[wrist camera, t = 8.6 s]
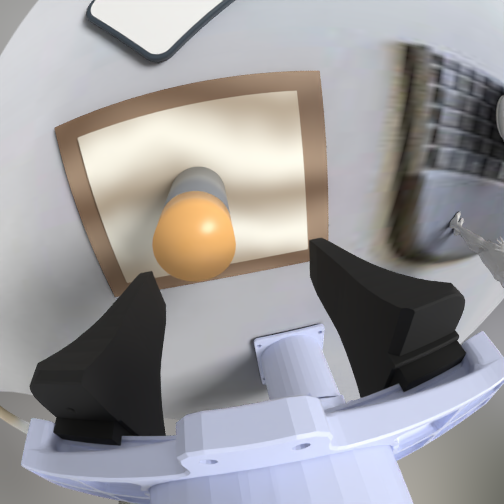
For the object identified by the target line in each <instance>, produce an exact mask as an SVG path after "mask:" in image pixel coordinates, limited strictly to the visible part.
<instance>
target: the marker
mask: <svg viewBox="0 0 504 504" xmlns="http://www.w3.org/2000/svg"><path fill="white" fill-rule="evenodd" d="M152 247H153V253H154V256H155V258H156V260H157V262H158V264H159V265H160V266H161V267H162V268H163V269H164V270H165V271H166V272H167V273H168V274H170V275H171V276H173V277H175V278H178V279H181V280H184V281H191V282H198V281H205V280H209V279H211V278H214V277H216V276H218V275H219V274H221V273H222V272H223V271H224V270H225V269H226V268H227V267H228V266H229V265H230V263H231V262H232V260H233V257H234V255H235V250H236V240H235V235H234V230H233V226H232V221H231V216H230V211H229V206H228V201H227V196H226V191H225V186H224V183H223V181H222V179H221V178H220V176H219V175H218V174H217V173H216V172H214V171H213V170H211V169H209V168H206V167H191V168H188V169H186V170H184V171H182V172H181V173H180V174H179V175H178V176H177V177H176V178H175V180H174V181H173V184H172V186H171V189H170V191H169V194H168V197H167V199H166V202H165V205H164V207H163V210H162V213H161V215H160V218H159V221H158V224H157V227H156V230H155V233H154V236H153V242H152Z"/></svg>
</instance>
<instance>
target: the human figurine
mask: <svg viewBox="0 0 504 504" xmlns="http://www.w3.org/2000/svg"><path fill="white" fill-rule="evenodd" d="M460 215H461V213H460V212H458V213H456V215H455V217H454V218H453V219H452V220H451V222H450V228H451V229H452V228H454V230H453V231H454V236H455V235H461V237H463V239H464V240H465V242H466V243H467V245H468V247H469V249H470V250H471V251H474V252H476V253H479V256H480V258H481V260H482V262H483V263H484V264H485V266H486V267H487V268H488V269H489V270H490V272H491V273H492V275H493V277H494V278H495V279H496V280H497V281H500V282H501V285H502V287H503V288H504V242H503V240H502V238H501V236H500V239H501V241H502V244H501V242H500V241H499V240H498V239H496V240H497V241H498V243H499V244H496V243H493V242H491V241H489V240H488V241H486V240H484V239H483V238H482V237H481V236H479V235H476V234H474V233H472V232H471V231H470V230H468V229H467V228H464V227H462V224H463V218H461V220H460V221H459V222H458V219H459V217H460Z"/></svg>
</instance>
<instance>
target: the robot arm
mask: <svg viewBox="0 0 504 504" xmlns="http://www.w3.org/2000/svg"><path fill="white" fill-rule="evenodd" d="M309 257H310V278H311V280H312V283H313V286H314V288H315V291H316V293H317V295H318V297H319V299H320V301H321V302H322V304H323V306H324V308H325V310H326V311H327V313H328V315H329V317H330V318H331V320H332V322H333V324H334V326H335V327H336V329H337V331H338V334H339V336H340V338H341V341H342V343H343V346H344V348H345V351H346V353H347V356H348V359H349V362H350V365H351V367H352V370H353V373H354V377H355V380H356V383H357V386H358V390H359V393H360V397H361V398H360V399H357V400H354V401H353V400H351V401H348V402H347V403H346V402H345V399H344V397H343V395H340V393H339V390H338V388H337V386H336V383H335V381H334V378H333V376H332V373H331V371H330V368H329V366H328V364H327V361H326V359H325V356H324V354H323V352H322V351H323V339H324V326H323V324H318V325H314V326H310V327H306V328H302V329H297V330H293V331H289V332H284V333H279V334H275V335H270V336H265V337H260V338H256V339H255V340H254V346H255V351H256V356H257V361H258V366H259V371H260V376H261V381H262V384H264V385H265V384H266V386H267V390H268V395H269V399H270V400H267V401H262V402H257V403H252V404H246V405H240V406H234V407H228V408H221V409H213V410H205V411H199V412H195V413H191V414H187V415H185V416H184V417H183V418H181V419H180V420H179V421H178V422H176V435H173V436H166V435H165V427H164V420H163V411H162V400H161V377H160V369H161V357H162V349H163V341H164V334H165V326H166V304H165V302H164V299H163V297H162V295H161V292H160V290H159V287H158V285H157V282H156V280H155V277H154V275H153V272H152V271H148V272H143V273H140V274H139V275H138V276H137V277H136V278H135V279H134V280H133V281H132V282H131V284H130V285H129V286H128V287H127V288H126V290H125V291H124V292H123V293H122V294H121V296H120V297H119V298H118V299H117V300H116V302H115V303H114V304H113V305H112V306H111V307H110V308H109V309H108V310H107V312H106V313H105V314H104V315H103V316H102V317H101V318H100V319H99V320H98V321H97V322H96V323H95V324H94V325H93V326H92V327H90V328H89V329H88V330H87V331H86V332H85V333H83V334H82V335H81V336H80V337H78V338H77V339H76V340H75V341H73V342H72V343H71V344H69V345H68V346H66V347H65V348H63V349H62V350H60V351H59V352H57V353H55V354H54V355H52V356H50V357H48V358H47V359H45V360H43V361H41V362H39V363H38V364H37V367H36V370H35V372H34V375H33V378H32V381H31V384H30V390H31V392H32V394H33V396H34V397H35V398H36V399H37V400H38V401H39V402H40V403H41V404H42V405H43V406H44V407H45V408H46V409H47V410H49V411H50V412H51V413H52V414H53V415H54V416H56V417H57V418H56V422H55V423H53V422H51V421H48V420H43V419H36V418H31V422H30V425H29V429H28V433H27V438H26V442H25V447H24V451H23V457H22V462H21V465H22V466H23V467H24V468H26V469H28V470H30V471H31V472H33V473H35V474H37V475H39V476H40V477H42V478H44V479H46V480H48V481H50V482H52V483H54V484H56V485H58V486H61V487H65V488H68V489H72V490H75V491H79V492H83V493H87V494H91V495H95V496H99V497H104V498H109V499H114V500H119V501H124V502H130V503H137V504H413V501H412V499H411V496H410V493H409V491H408V488H407V486H406V483H405V481H404V478H403V476H402V473H401V471H400V469H399V466H398V464H397V460H399V459H401V458H403V457H405V456H407V455H409V454H410V453H412V452H414V451H416V450H418V449H420V448H421V447H423V446H425V445H426V444H428V443H430V442H431V441H433V440H434V439H436V438H438V437H439V436H441V435H442V434H444V433H445V432H447V431H448V430H450V429H451V428H453V427H454V426H456V425H457V424H459V423H460V422H462V421H463V420H464V419H466V418H467V417H469V416H470V415H471V414H473V413H474V412H475V411H477V410H478V409H479V408H481V407H482V406H483V405H485V404H486V403H487V402H488V401H489V400H490V398H491V397H492V396H493V395H494V394H495V393H496V392H497V391H498V389H499V388H500V387H501V386H502V385H503V383H504V357H503V356H502V354H501V353H500V352H499V351H498V349H497V348H496V347H495V345H494V344H493V343H492V341H491V340H490V339H489V338H488V336H487V335H486V334H485V333H484V332H483V331H481V332H479V333H477V334H476V335H474V336H472V337H471V338H469V339H467V340H466V341H465V342H464V343H463V344H462V345H460V344H459V343H458V341H457V340H458V339H459V335H458V333H457V332H456V331H455V329H456V327H457V325H458V322H459V320H460V318H461V316H462V313H463V310H464V306H465V299H464V296H463V295H462V294H461V293H460V292H459V291H458V290H457V289H456V288H455V287H454V286H453V284H452V283H446V282H437V281H429V280H423V279H418V278H413V277H409V276H405V275H402V274H398V273H395V272H392V271H389V270H386V269H384V268H381V267H378V266H376V265H374V264H371V263H369V262H367V261H365V260H363V259H361V258H359V257H357V256H355V255H353V254H351V253H349V252H347V251H345V250H344V249H342V248H340V247H338V246H337V245H335V244H333V243H331V242H329V241H328V240H326V239H324V238H316V239H311V240H309Z"/></svg>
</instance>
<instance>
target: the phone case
mask: <svg viewBox="0 0 504 504" xmlns="http://www.w3.org/2000/svg"><path fill="white" fill-rule="evenodd" d="M234 1H235V0H93V1H92V2H91V3H90V5H89V6H88V8H87V12H86V16H87V18H88V20H89V21H90V22H92V23H94V24H95V25H97V26H98V27H100V28H102V29H103V30H105V31H106V32H108V33H109V34H111V35H112V36H114V37H116V38H117V39H119V40H120V41H122V42H123V43H125V44H126V45H127V46H129V47H130V48H132V49H133V50H135V51H136V52H138V53H139V54H140V55H142V56H143V57H145V58H146V59H148V60H150V61H153V62H162V61H166V60H168V59H169V58H171V57H172V56H173V55H174V54H175V53H176V52H177V51H178V50H179V49H180V48H181V47H182V46H183V45H184V44H185V43H186V42H187V41H188V40H189V39H191V38H192V37H193V36H194V35H195V34H196V33H197V32H198V31H199V30H200V29H201V28H202V27H204V26H205V25H206V24H207V23H208V22H209V21H210V20H212V19H213V18H214V17H215V16H216V15H218V14H219V13H220V12H221V11H222V10H224V9H225V8H226V7H227V6H229V5H230V4H231V3H232V2H234Z"/></svg>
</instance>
